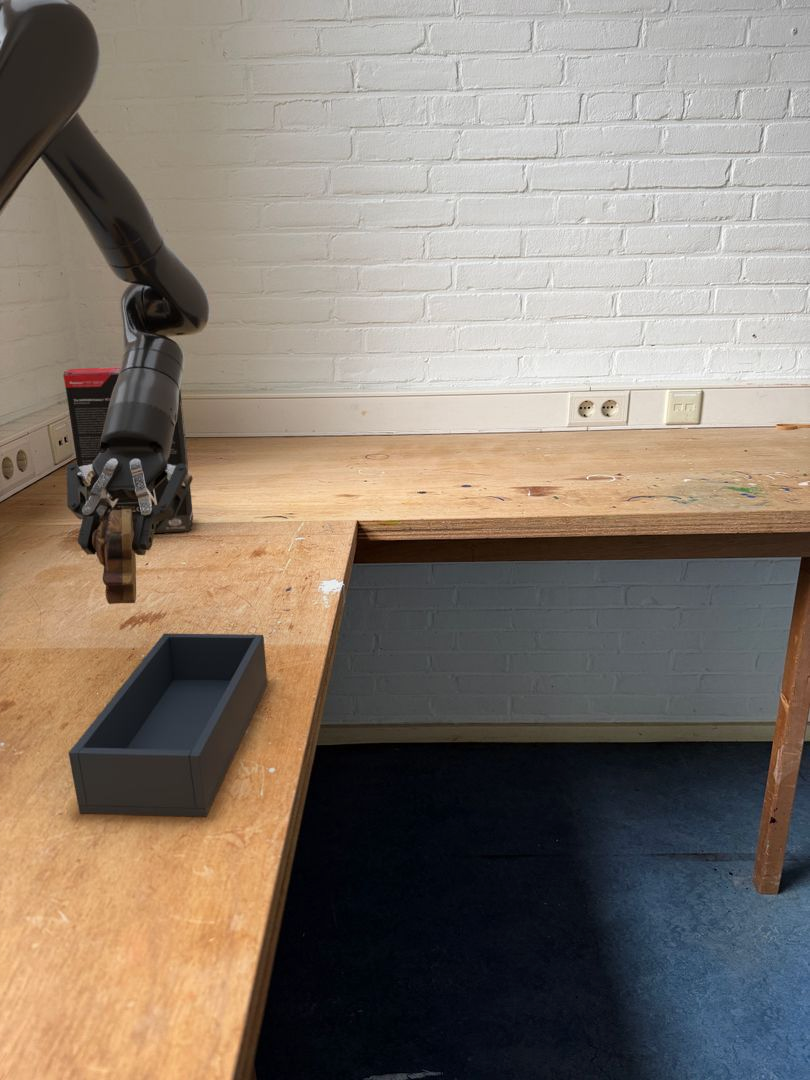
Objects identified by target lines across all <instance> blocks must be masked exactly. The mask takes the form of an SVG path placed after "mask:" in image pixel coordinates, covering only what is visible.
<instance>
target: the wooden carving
mask: <svg viewBox="0 0 810 1080" xmlns="http://www.w3.org/2000/svg"><path fill="white" fill-rule="evenodd" d="M133 537H134V531H133V522H132V509H131V506H123V507H115V508H114V509H113V510H112V511H111V512H110V514H109V516H108V519H107V520H105V521H102V522H101V524H100V525H99V527H98V529H96V530H95V531H94V532H93V534H92V544H93V547H94V549H95V550H96V553H95V554H96V557H97V559H98V561H99V564H100V565H101V566H103V572H102V583H103V584H104V585H105V590H104V591H105V599H106V601H107V604H108V605H116V604H136V601H137V559H136V558H137V557H136V553H135V552H134V551H133V549H132V542H133Z"/></svg>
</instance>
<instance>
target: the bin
mask: <svg viewBox="0 0 810 1080" xmlns="http://www.w3.org/2000/svg"><path fill="white" fill-rule="evenodd" d="M266 661H267V659H266V650H265V639H264V634H248V633H247V634H241V633H240V634H238V633H237V634H235V633H224V634H223V633H163V634H162V635H161V636H160V638H159V639H158V640H157V642H155V644H154V645H153V647H152V648H151V649H150V650H149V652H148V653H147V654H146V655H145V656H144V658H143V659H142V660H141V661H140V663H139V664H138V665H137V666H136V667H135V669H134V670H133V672H132V673H131V674H130V675H129V677H128V678H127V679H126V680H125V682H123V684H122V685H121V687H120V688H118V690H117V691H116V693H115V694H114V695H113V696H112V698H111V699H110V700H109V702H108V703H107V704H106V705H105V707H104V708H103V709H102V710H101V711H100V712H99V714H97V716H96V718H95V719H94V720H93V722H92V723H91V724H90V725H89V726H88V728H87V729H86V730H85V731H84V732H83V734H82V735H81V736H80V738H79V739H78V740H77V741H76V742H75V744H74V745H73V746H72V748H71V749H70V750H69V751H68V758H69V763H70V764H69V765H70V768H71V774H72V780H73V785H74V790H75V791H74V792H75V796H76V802H77V806H78V807H77V808H78V812H79V814H91V815H93V814H94V815H123V816H124V815H127V816H128V815H129V816H160V817H161V816H163V817H164V816H166V817H168V816H169V817H195V818H201V817H202V818H206V817H207V816H208V815H209V812H210V810H211V807H212V805H213V803H214V802H215V799H216V797H217V795H218V792H219V790H220V788H221V786H222V784H223V782H224V779H225V778H226V775H227V773H228V771H229V768H230V766H231V764H232V762H233V760H234V758H235V756H236V753H237V751H238V750H239V747H240V744H241V743H242V740H243V738H244V736H245V733H246V731H247V730H248V727H249V725H250V723H251V721H252V719H253V716H254V714H255V712H256V709H257V707H258V705H259V703H260V701H261V699H262V697H263V694H264V692H265V690H266V688H267V686H268V674H267V662H266Z"/></svg>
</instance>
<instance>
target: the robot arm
mask: <svg viewBox="0 0 810 1080" xmlns="http://www.w3.org/2000/svg"><path fill="white" fill-rule="evenodd" d="M100 65H101V48H100V42H99V36H98V34H97V31H96V28H95V26H94V24H93V22H92V20H91V19H90V17H89V16H88V15H87V14H86V13H85V11H84V10H82V9H81V7H79V6H78V5H76V4H75V3H74V2H72V1H70V0H0V217H1V216H2V214H3V213H4V211H5V209H6V208H7V207H8V205H9V203H10V202H11V200H12V199H13V197H14V196H15V194H16V192H17V191H18V189H19V188H20V186H21V185H22V183H23V181H25V179H26V177H27V176H28V174H29V173H30V171H31V170H32V169H33V167H35V165H36V163H37V162H38V161H39V159H41V161H42V162H43V164H44V165H45V166H46V168H47V169H48V171H49V172H50V174H51V175H52V176H53V178H54V179H55V180H56V182H57V183H58V185H59V186H60V188H61V190H62V191H63V193H64V194H65V196H66V197H67V198H68V200H69V202H70V203H71V205H72V206H73V208H74V210H75V211H76V213H77V215H78V216H79V218H80V220H81V221H82V222H83V225H84V226H85V228H86V230H87V231H88V233H89V235H90V237H91V238H92V240H93V242H94V244H95V245H96V247H97V249H98V250H99V252H100V254H101V255H102V257H103V258H104V261H105V262H106V264H107V266H108V268H109V269H110V270H111V273H113V274H114V275H115V277H116V278H117V279H119V280H121V281H123V282H125V283H129V284H128V285H127V287H126V288H125V289H124V290H123V292H122V294H121V297H120V303H119V306H120V307H119V308H120V316H121V322H122V334H123V335H122V336H123V337H122V338H123V355H122V359H121V364H120V371H119V376H118V379H117V382H116V384H115V386H114V389H113V392H112V395H111V399H110V403H109V407H108V411H107V416H106V420H105V424H104V428H103V432H102V437H101V441H100V452H99V454H98V456H97V457H96V458H95V460H94V461H93V463H92V464H90V465H85V466H80V467H78V465H77V462H76V463H75V462H70V463H69V464H67V466H66V504H67V508H68V509H69V511H71V513H72V514H73V515H74V516H75V517H76V518H77V519H78V520H81V523H80V528H79V532H78V537H77V543H78V544H77V545H79V546H80V548H81V550H82V551H83V552H84V553H85V554H86V555H95V554H96V550H95V549H94V547H93V544H92V534H93V532H94V531H95V530H96V529H98V527H99V525H100V523H101V521H102V520H103V518H104V517H105V515H106V513H107V512H108V510H109V509H112V508H113V507H114V505H115V504H116V502H117V501H118V499H125V498H133V499H138V501H139V506H140V511H141V517H137V522H136V527H135V532H134V537H133V542H132V549H133V551H134V552H135V555H137V556H145V555H146V553H147V551H150V550H151V548H152V546H153V541H154V536H155V533H154V532H155V526H156V524H157V523H158V522H159V521H161V520H164V519H167V520H173V519H174V518H175V517H176V515H177V512H178V510H179V508H180V506H181V504H182V501H183V499H184V497H185V495H186V493H187V490H188V488H189V486H190V487H191V484H192V482H193V476H192V473H191V472H190V470H189V467H188V468H187V467H186V465H185V464H183V463H180V464H178V465H177V466H174V465H170V464H169V463H168V458H169V455H170V450H171V444H172V439H173V434H174V429H175V424H176V422H177V417H178V414H177V413H178V403H179V391H180V389H181V385H182V380H183V375H184V369H185V362H186V361H185V360H186V358H185V357H186V356H185V353H184V351H183V348H182V347H181V346H180V344H178V343H177V342H176V341H175V340H173V339H171V338H172V337H182V336H193V335H197V334H199V333H201V332H203V331H204V329H206V327H207V326H208V324H209V321H210V318H211V304H210V300H209V296H208V293H207V292H206V290H205V288H204V286H203V284H202V283H201V281H200V280H199V278H198V277H197V276H196V275H195V274H194V272H193V271H192V269H191V270H190V268H189V267H188V265H186V264H185V263H184V262H183V260H181V258H180V257H179V256H178V255H177V253H176V252H175V251H174V249H172V248H171V247H170V246H169V245H168V244H167V242H166V241H165V239H164V237H163V235H162V233H161V231H160V228H159V227H158V225H157V222H156V220H155V218H154V216H153V214H152V212H151V210H150V209H149V207H148V205H147V202H146V201H145V199H144V198H143V196H142V195H141V193H140V191H139V190H138V188H137V187H136V185H135V184H134V183H133V181H132V180H131V179H130V177H129V176H128V175H127V173H125V172H124V170H123V169H122V168H121V166H120V165H119V164H118V163H117V162H116V160H115V159H114V158H113V157H112V156H111V155H110V153H109V152H108V151H107V149H106V148H105V147H104V146H103V145H102V144H101V142H100V141H99V140H98V138H97V137H96V136H95V135H94V133H93V132H92V131H91V129H90V128H89V126H88V125H87V123H86V122H85V120H84V119H83V118H82V116H81V114H80V112H79V110H81V108H82V106H83V105H84V104H85V103H86V101H87V100H88V98H89V96H90V94H91V92H92V90H93V89H94V86H95V84H96V81H97V78H98V75H99V70H100ZM170 337H171V338H170ZM94 475H96V476H97V478H98V480H97V482H96V483H95V485H94V486H93V488H92V490H91V496H90V498H89V500H88V501H87V486H89V485H90V482H91V478H92V477H93V476H94ZM167 476H168V477H167ZM166 477H167V479H168V481H169V482H168V484H167V486H166V489H165V491H164V493H163V495H162V497H161V499H160V501H159V503H158V504H157V501H156V496H155V491H154V489H155V488H156V487H157V486H158V485H159V484H160V483H161V482H162V481H163V480H164V479H165V478H166ZM106 492H107V493H108V494H107V495H106Z"/></svg>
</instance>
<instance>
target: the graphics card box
mask: <svg viewBox="0 0 810 1080" xmlns="http://www.w3.org/2000/svg"><path fill="white" fill-rule="evenodd" d="M120 367H121V366H120ZM120 367H119V366H117V367H115V366H114V367H113V366H112V367H91V368H89V367H86V368H69V369H68V370H65V371H64V372H63V374H62V377H63V380H64V381H63V382H64V388H65V393H66V401H67V407H68V414H69V421H70V426H71V433H72V441H73V446H74V447H73V448H74V452H75V453H74V454H75V457H76V458H75V459H76V464H77V465H78V467H80V466H85V465H90V464H92V463H93V461H94V460H95V458H96V457H97V456H98V454H99V452H100V441H101V437H102V432H103V428H104V424H105V420H106V416H107V411H108V407H109V403H110V399H111V395H112V392H113V389H114V386H115V384H116V382H117V379H118V376H119V371H120ZM181 391H182V390H181V388H180V391H179V403H178V413H177V414H178V417H177V422H176V424H175V429H174V434H173V439H172V444H171V450H170V455H169V458H168V463H169V464H170V465H174V466H177V465H178V464H180V463H183V464H185V465H186V467H187V468H188V469H189V463H188V451H187V441H186V432H185V421H184V410H183V400H182V392H181ZM167 477H168V476H167ZM167 477H166V478H165V479H164V480H163V481H162V482H161V483H160V484H159V485H158V486H157V487H156V488H155V489H154V491H155V496H156V501H157V504H158V503H159V501H160V499H161V497H162V495H163V493H164V491H165V489H166V486H167V484H168V482H169V481H168V479H167ZM97 480H98V478H97V476H96V475H94V476H93V477H92V478H91V482H90V485H89V486H87V501H88V500H89V498H90V496H91V490H92V488H93V486H94V485H95V483H96V482H97ZM107 494H108V493H107V492H106V495H107ZM192 501H193V500H192V489H191V485H190V486H189V488H188V490H187V493H186V495H185V497H184V499H183V501H182V504H181V506H180V508H179V510H178V512H177V515H176V517H175V518H174V519H173V520H167V519H164V520H161V521H159V522H158V523H157V524H156V526H155V532H154V534H161V533H164V534H165V533H180V532H181V533H185V532H189V531H191V528H192V526H193V525H192V524H193V521H194V512H193V502H192ZM123 506H131V509H132V522H133V531H134V532H135V527H136V522H137V517H141V511H140V506H139V501H138V499H133V498H125V499H118V501H117V502H116V504H115V505H114V507H113V508H112V509H109V510H108V512H107V513H106V515H105V517H104V518H103V520H102V521H105V520H107V519H108V516H109V514H110V512H111V511H112V510H113V509H114V508H115V507H123ZM102 521H101V522H102ZM100 524H101V523H100Z"/></svg>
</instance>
